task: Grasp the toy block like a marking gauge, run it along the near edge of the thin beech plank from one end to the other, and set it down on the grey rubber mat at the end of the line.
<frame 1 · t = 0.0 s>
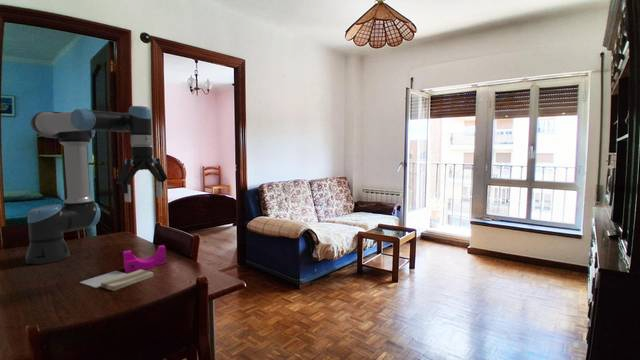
hand: (144, 199, 136), 28 cm above the table, tool pointing down, fingers open, 13 cm apart
toy block: (146, 268, 139), on the table
board: (128, 281, 123), on the table
mat: (106, 279, 126), on the table
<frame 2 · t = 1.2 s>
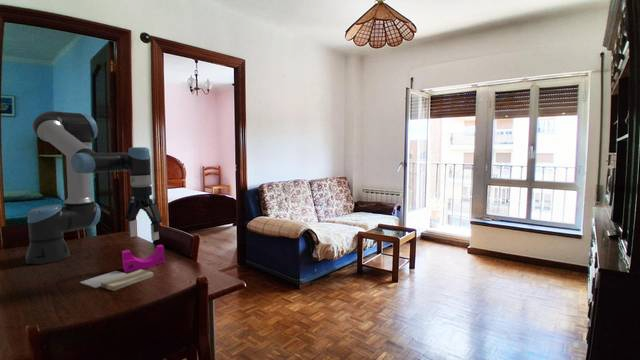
hand: (144, 238, 137), 12 cm above the table, tool pointing down, fingers open, 13 cm apart
toy block: (144, 267, 139), on the table
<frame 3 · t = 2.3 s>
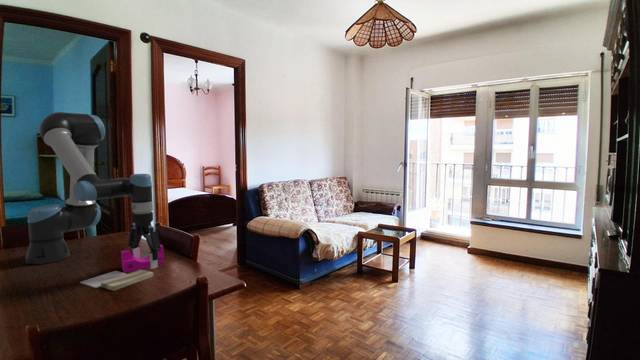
hand: (145, 265, 138), 1 cm above the table, tool pointing down, fingers open, 10 cm apart
toy block: (144, 267, 139), on the table, touching gripper
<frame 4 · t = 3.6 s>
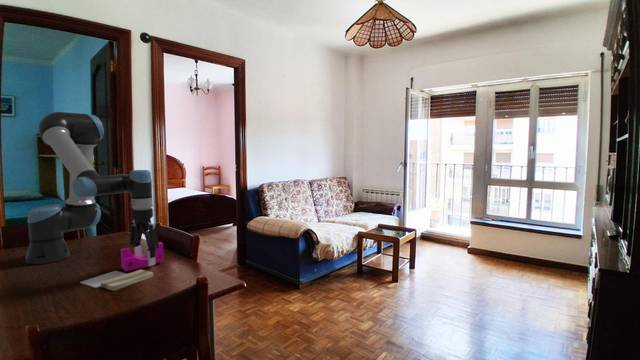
hand: (145, 263, 138), 2 cm above the table, tool pointing down, fingers closed on toy block, 8 cm apart
toy block: (144, 265, 138), point 1 cm above the table, touching gripper
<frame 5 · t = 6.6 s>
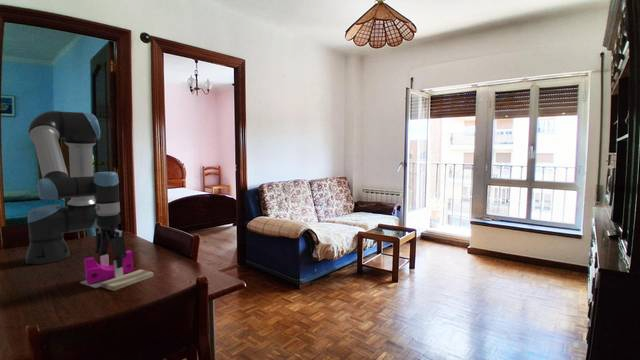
hand: (111, 273, 126), 2 cm above the table, tool pointing down, fingers closed on toy block, 8 cm apart
toy block: (110, 276, 126), point 1 cm above the table, touching gripper
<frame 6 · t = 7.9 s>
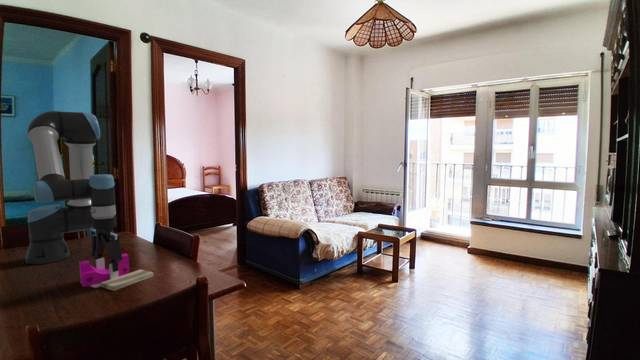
hand: (107, 277, 125), 1 cm above the table, tool pointing down, fingers closed on toy block, 8 cm apart
toy block: (106, 279, 125), resting on mat, touching gripper
when the fingers open (1 cm above the table, at t = 8.4 s): toy block stays where it is, resting on mat.
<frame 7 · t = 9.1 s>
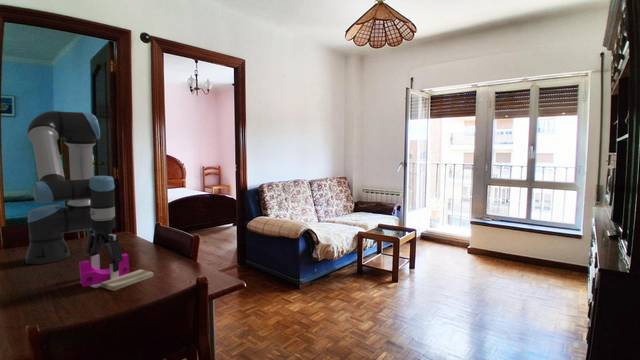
hand: (104, 275, 126), 1 cm above the table, tool pointing down, fingers open, 11 cm apart
toy block: (106, 279, 125), resting on mat
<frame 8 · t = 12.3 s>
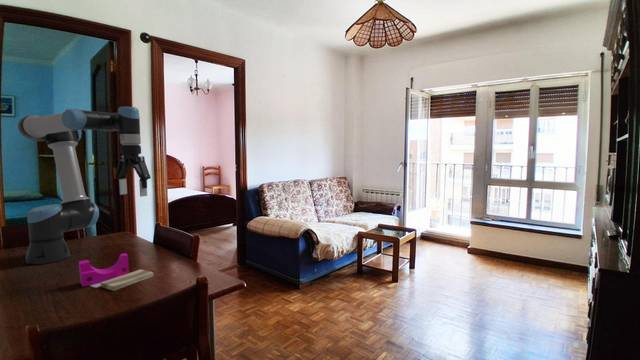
hand: (133, 195, 143), 29 cm above the table, tool pointing down, fingers open, 13 cm apart
nothing on the table moved.
at the end: toy block inside the target area (0.8 cm from its centre), resting on mat; toy block tilted 0°; the gripper is holding nothing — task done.
